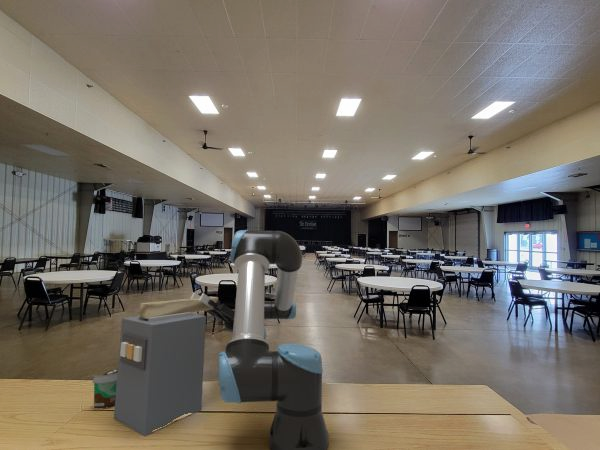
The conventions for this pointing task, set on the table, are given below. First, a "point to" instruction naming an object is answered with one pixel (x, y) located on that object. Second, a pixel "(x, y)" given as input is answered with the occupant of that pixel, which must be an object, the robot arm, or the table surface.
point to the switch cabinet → (159, 370)
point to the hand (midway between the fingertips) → (196, 296)
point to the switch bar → (173, 307)
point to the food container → (105, 389)
